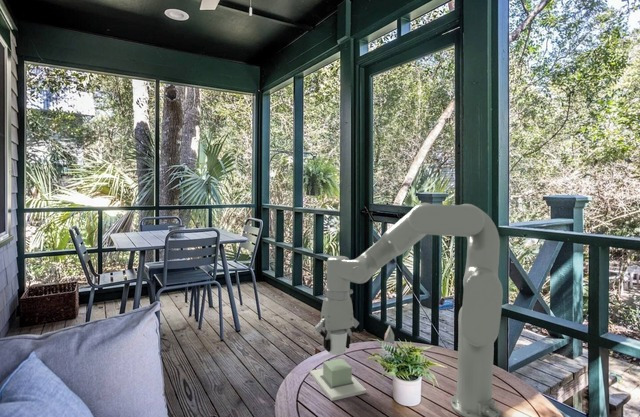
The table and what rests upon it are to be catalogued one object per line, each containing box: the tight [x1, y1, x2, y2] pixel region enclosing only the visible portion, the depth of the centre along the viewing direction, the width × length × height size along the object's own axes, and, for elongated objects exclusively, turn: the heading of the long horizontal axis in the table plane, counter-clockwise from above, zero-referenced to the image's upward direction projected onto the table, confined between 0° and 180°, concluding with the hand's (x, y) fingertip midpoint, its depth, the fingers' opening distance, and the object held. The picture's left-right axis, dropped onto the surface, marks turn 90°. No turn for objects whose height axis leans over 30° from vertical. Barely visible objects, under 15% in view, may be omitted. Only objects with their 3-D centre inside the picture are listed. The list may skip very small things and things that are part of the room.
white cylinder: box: [328, 329, 348, 356], centre depth 122 cm, size 7×7×7 cm
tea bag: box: [383, 324, 395, 345], centre depth 146 cm, size 4×7×10 cm, turn 168°
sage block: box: [322, 358, 353, 387], centre depth 123 cm, size 7×7×5 cm
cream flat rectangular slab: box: [309, 367, 367, 402], centre depth 123 cm, size 18×12×1 cm, turn 23°
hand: (336, 347), depth 122 cm, fingers closed on white cylinder, 6 cm apart
